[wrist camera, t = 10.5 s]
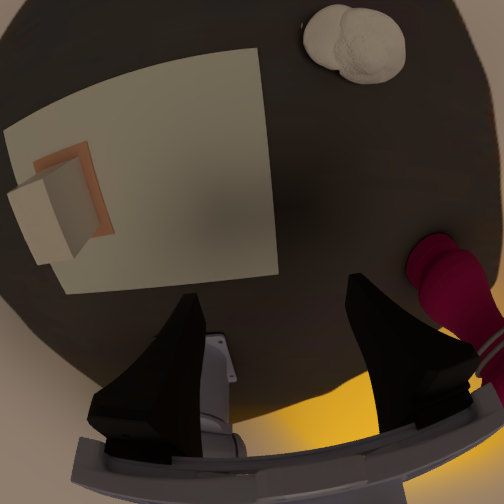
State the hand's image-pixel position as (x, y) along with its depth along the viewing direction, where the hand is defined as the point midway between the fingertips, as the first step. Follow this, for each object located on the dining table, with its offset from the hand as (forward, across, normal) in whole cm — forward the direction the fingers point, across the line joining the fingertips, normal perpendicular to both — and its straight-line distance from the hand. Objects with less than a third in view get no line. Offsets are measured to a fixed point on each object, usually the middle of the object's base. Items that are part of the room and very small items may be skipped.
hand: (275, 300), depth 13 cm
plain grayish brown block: (+9, +15, -4) cm, 18 cm away
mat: (+10, +10, -3) cm, 14 cm away
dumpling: (+10, -7, -12) cm, 17 cm away
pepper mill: (+10, -17, +7) cm, 21 cm away
